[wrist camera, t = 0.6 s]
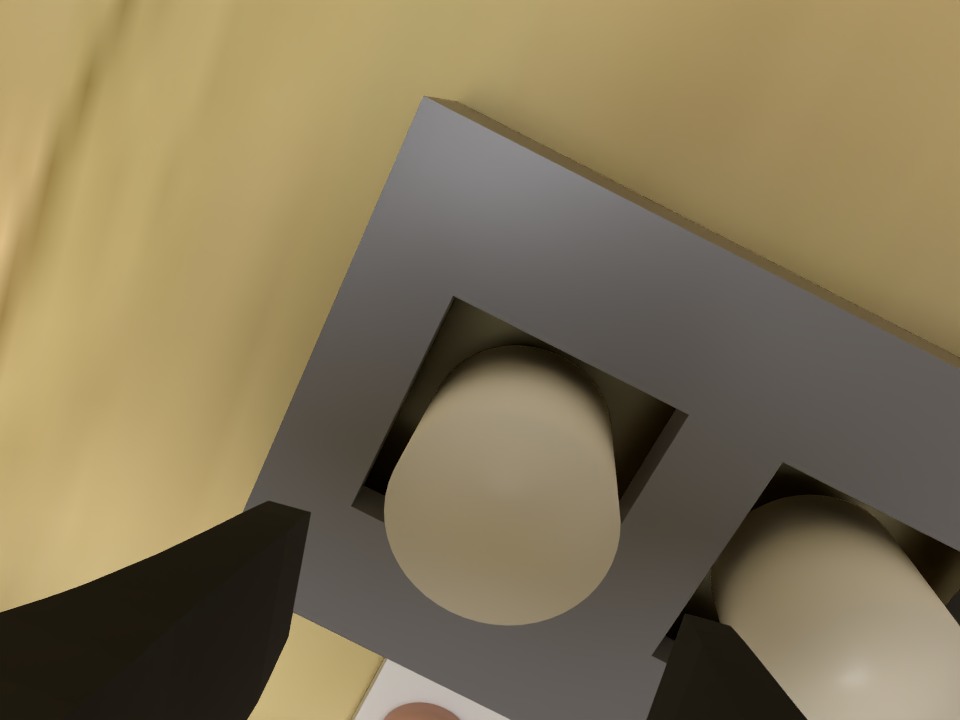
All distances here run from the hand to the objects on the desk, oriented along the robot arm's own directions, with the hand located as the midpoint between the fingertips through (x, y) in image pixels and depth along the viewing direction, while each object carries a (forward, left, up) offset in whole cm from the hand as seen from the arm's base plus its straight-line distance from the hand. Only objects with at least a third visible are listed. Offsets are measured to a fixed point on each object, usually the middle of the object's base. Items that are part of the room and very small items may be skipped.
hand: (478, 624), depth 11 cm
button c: (0, 0, -7) cm, 7 cm away
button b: (-6, +3, -7) cm, 10 cm away
